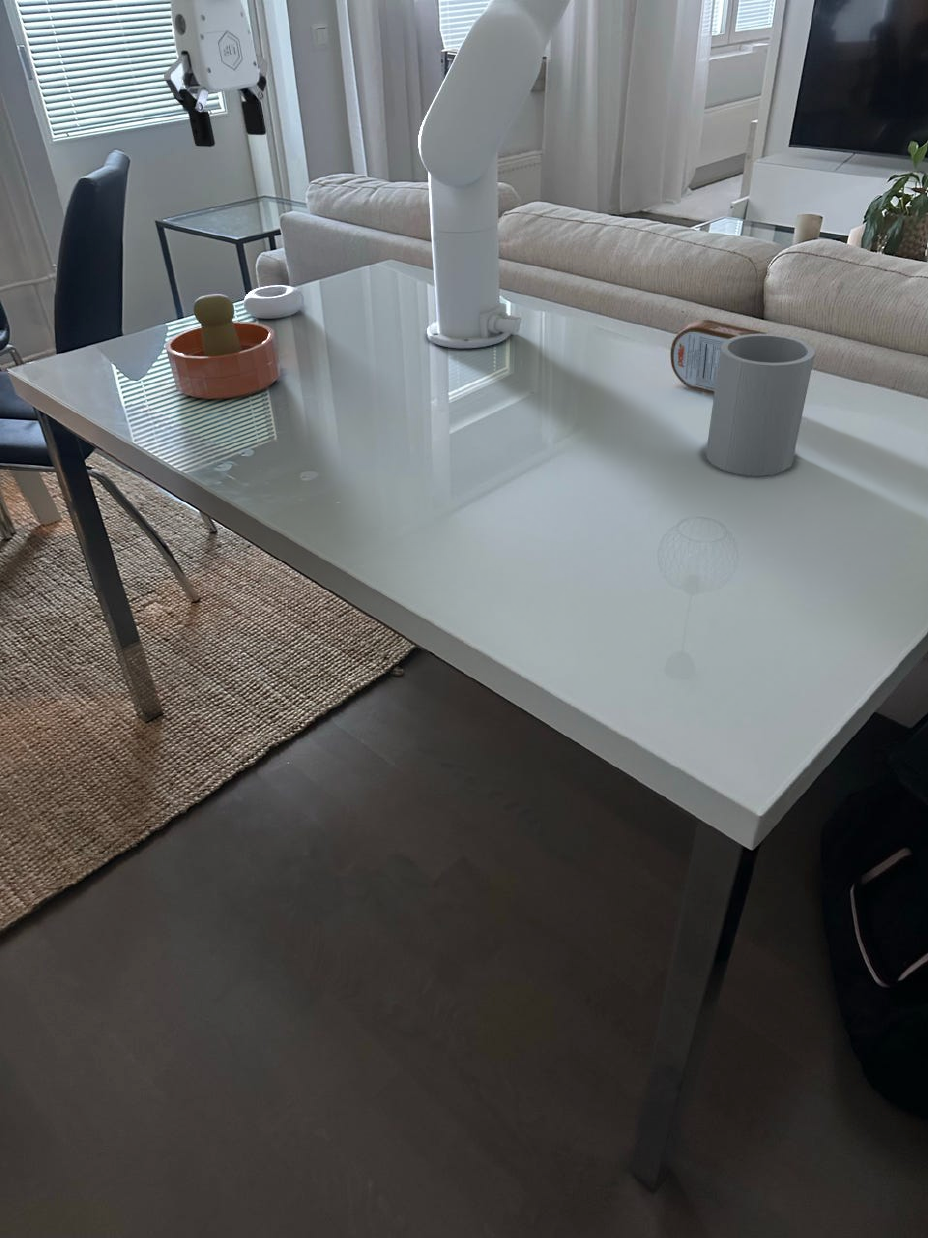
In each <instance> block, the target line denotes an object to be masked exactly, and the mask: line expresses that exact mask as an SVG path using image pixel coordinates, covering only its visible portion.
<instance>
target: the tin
mask: <svg viewBox="0 0 928 1238" xmlns="http://www.w3.org/2000/svg"><path fill="white" fill-rule="evenodd" d="M747 334H768V333H767V332H764V331H760V330H755V329H750V328H747V327H740V326H738V325H737V326H736V325H732V324H728V323H724V322H721V321H715V320H711V319H698V320H695V321H693V322H691V323H689V324H688V325H687V326H686V327H684V328H683V329H682V330H680V331H679V332H678V333H677V334H676V335H675V337H674V338H673V339H672V341H671V345H670V351H669V359H670V366H671V368H672V371H673V373H674V375H675V376H676V378H677V379H678V380H679V381H680V382H681V383H682V384H683V385H685V386H686V387H688V388H690V389H693V390H696V391H700V392H704V393H706V394H711V395H714V392H715V385H716V378H717V371H718V363H719V356H720V349H721V345H722V343H723V342H724V341H726V340H728V339H730V338H733V337H736V336H740V335H747Z"/></svg>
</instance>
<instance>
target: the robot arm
mask: <svg viewBox="0 0 928 1238" xmlns="http://www.w3.org/2000/svg"><path fill="white" fill-rule="evenodd" d="M570 2H571V0H489V1H488V3H487V5H486V7H485V9H484V10H483V12H482V13H481V14H479V16H478V17H476V18H475V20H474V21H473V23H471V26H470V27H469V28H468V30H467V32H466V34H465V37H464V38H463V41H462V42H461V44H460V47H459V49H458V51H457V53H456V55H455V57H454V59H453V61H452V63H451V65H450V67H449V69H448V71H447V73H446V74H445V77H444V79H443V81H442V83H441V85H440V87H439V89H438V92H437V93H436V94H435V97H434V99H433V102H432V104H431V105H430V107H429V110H428V111H427V113H426V115H425V117H424V119H423V121H422V124H421V126H420V130H419V134H418V152H419V157H420V160H421V162H422V164H423V166H424V169H425V170H426V172H427V173H428V192H429V212H430V232H431V247H432V248H431V249H432V264H433V265H432V266H433V278H434V294H435V295H434V297H435V310H436V312H435V313H436V321H435V322H432V323H431V324H430V325H429V326H428V328H427V338H428V340H429V341H430V342H432V343H433V344H435V345H437V346H440V347H445V348H449V349H451V348H452V349H479V348H484V347H485V348H486V347H490V346H493V345H496V344H500V343H502V342H503V341H505V340H507V339H508V338H509V337H510V336H511V335H518V334H519V332H520V329H521V323H522V317H520V316H517V315H510V314H509V315H508V313H507V304H506V303H502V302H501V297H500V296H501V295H500V292H501V291H500V255H499V254H500V252H499V248H500V247H499V183H498V182H499V149H500V147H501V146H502V144H503V142H504V140H505V138H506V137H507V134H508V133H509V131H510V129H511V128H512V126H513V124H514V122H515V120H516V118H517V117H518V115H519V113H520V111H521V110H522V108H523V106H524V104H525V102H526V101H527V98H528V97H529V95H530V93H531V91H532V89H533V87H534V86H535V83H536V81H537V80H538V77H539V74H540V72H541V69H542V65H543V56H544V53H545V51H546V49H547V46H548V45H549V42H550V40H551V39H552V37H553V35H554V33H555V31H556V30H557V28H558V26H559V23H560V22H561V20H562V18H563V17H564V14H565V12H566V11H567V8H568V6H569V5H570ZM170 14H171V24H172V25H171V26H172V34H173V40H174V41H173V42H174V49H175V53H176V58H177V59H176V60H175V61H174V62H173V63H172V64H171V66H170V67H169V68H168V69H167V70H166V72H164V74H163V79H164V82H165V83H166V85H167V86H168V88H169V90H170V91H171V92H172V96H173V98H174V99H175V101H176V102H178V103H179V104H180V105H181V108H182V110H183V111H184V112H185V113H187V114H188V119H189V123H190V127H191V133H192V137H193V142H194V145H195V146H196V147H204V148H213V147H214V146H215V144H216V142H215V136H214V131H213V126H212V121H211V117H210V113H209V110H205V107H206V103H207V100H208V98H209V97H208V96H209V94H210V93H222V92H223V93H224V92H228V91H235V90H237V91H238V93H239V94H240V95H241V96H242V98H243V99H244V100H242V101H241V109H242V115H243V121H244V126H245V132H246V134H247V135H250V136H264V135H265V136H266V134H267V129H266V122H265V118H264V111H263V106H262V101H264V98H265V94H264V91H265V88H266V86H267V79H266V78H267V73H268V61H267V60H266V59H265V58H263V57H262V56H260V55H259V54H257V53H256V49H255V45H254V40H253V36H252V32H251V28H250V24H249V20H248V18H247V14H246V11H245V8H244V5H243V2H242V0H170Z"/></svg>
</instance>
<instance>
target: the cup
mask: <svg viewBox="0 0 928 1238" xmlns="http://www.w3.org/2000/svg"><path fill="white" fill-rule="evenodd" d="M815 356H816V350H815V348H814V346H812V345H811V343H808V342H806V341H804V340H802V339H799V338H796V337H793V336H788V335H783V334H774V333H767V334H747V335H740V336H736V337H733V338H730V339H728V340H726V341H724V342H723V343H722V345H721V349H720V356H719V363H718V371H717V378H716V385H715V392H714V394H713V400H712V407H711V414H710V422H709V429H708V436H707V443H706V451H705V455H706V456H705V457H706V459H707V461H708V462H709V463H711V465H713V466H715V467H716V468H718V469H720V470H722V471H725V472H727V473H731V474H735V475H739V476H748V477H749V476H752V477H764V476H771V475H776V474H779V473H782V472H784V471H786V470H788V469H789V468H790V467H791V466H792V464H793V462H794V457H795V453H796V447H797V443H798V437H799V432H800V428H801V423H802V418H803V412H804V408H805V403H806V398H807V394H808V389H809V384H810V379H811V375H812V370H813V365H814V359H815Z"/></svg>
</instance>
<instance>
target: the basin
mask: <svg viewBox="0 0 928 1238" xmlns="http://www.w3.org/2000/svg"><path fill="white" fill-rule="evenodd" d="M232 322H233V324H234V327H235V330H236V333H237V336H238V339H239V342H240V345H241V348H242V351H240V352H237V353H232V354H226V355H220V356H205V357H204V349H203V338H202V328H201V325H200V326H197V327H193V328H189V329H187V330H184V331H182V332H179V333H177V334H175V335H174V336H172V337H171V338H169V339H168V341H167V342H166V344H165V350H166V354H167V358H168V362H169V365H170V369H171V373H172V377H173V381H174V385H175V389H176V390H177V391H178V392H180V393H181V394H183V395H186V396H189V397H192V398H193V397H194V398H197V399H201V400H226V399H227V400H228V399H236V398H240V397H244V396H249V395H251V394H252V395H253V394H254V393H257V392H260V391H261V390H263V389H266V388H267V387H269V386H270V385H272V384H274V382H276V381H277V380H278V379H279V378H280V377H281V375H282V374H281V373H282V366H281V361H280V356H279V351H278V344H277V340H276V334H275V331H274V330H273V328H271V327H270V326H268V325H266V324H263V323H259V322H253V321H232Z"/></svg>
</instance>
